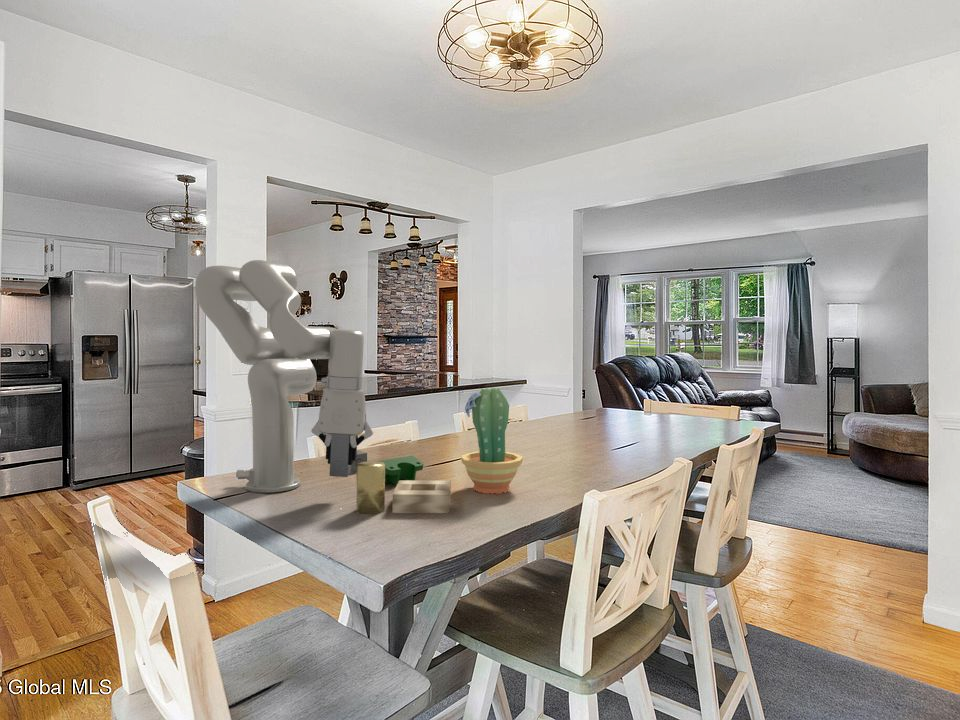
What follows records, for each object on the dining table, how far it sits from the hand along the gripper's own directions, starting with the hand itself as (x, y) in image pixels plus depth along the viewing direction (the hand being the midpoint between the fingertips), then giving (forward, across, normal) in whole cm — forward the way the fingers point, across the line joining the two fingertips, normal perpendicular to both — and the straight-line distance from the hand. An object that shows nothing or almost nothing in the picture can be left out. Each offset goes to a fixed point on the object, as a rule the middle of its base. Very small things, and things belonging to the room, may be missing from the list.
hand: (340, 462), depth 132 cm
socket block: (+7, +20, -5) cm, 22 cm away
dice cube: (+10, -2, +29) cm, 30 cm away
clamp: (+9, +12, +16) cm, 22 cm away
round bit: (+8, +9, -9) cm, 15 cm away
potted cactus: (+7, +36, +9) cm, 37 cm away
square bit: (+3, 0, 0) cm, 3 cm away
